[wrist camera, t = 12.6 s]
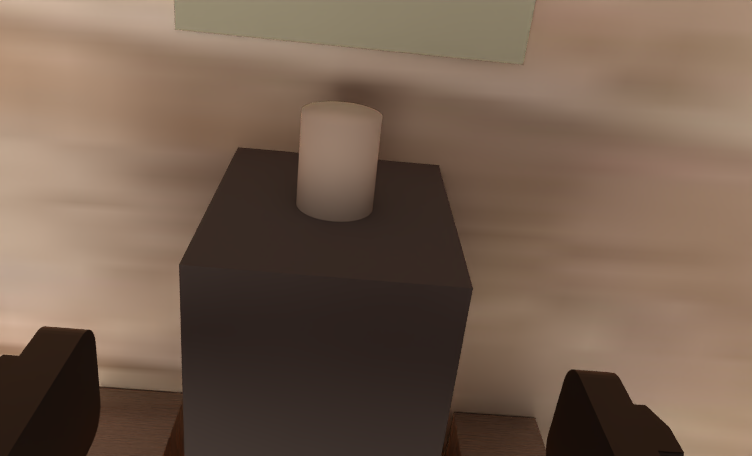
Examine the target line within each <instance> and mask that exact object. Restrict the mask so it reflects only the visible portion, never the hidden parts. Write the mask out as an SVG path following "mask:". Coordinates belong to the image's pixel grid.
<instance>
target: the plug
mask: <svg viewBox="0 0 752 456" xmlns="http://www.w3.org/2000/svg"><path fill="white" fill-rule="evenodd" d="M382 117H383V116H382V114H381V113H380V112H379V111H377V110H375V109H373V108H371V107H368V106H364V105H360V104H355V103H349V102H340V101H322V102H314V103H310V104H307V105H305V106H303V107H302V109H301V127H300V145H299V153H295V152H283V151H272V150H261V149H250V148H239V147H238V149H237V151H236V153H235V155H234V157H233V159H232V161H231V163H230V165H229V167H228V169H227V171H226V173H225V175H224V177H223V179H222V181H221V183H220V185H219V187H218V189H217V191H216V193H215V195H214V197H213V199H212V201H211V203H210V204H209V206H208V208H207V210H206V212H205V214H204V216H203V218H202V220H201V222H200V224H199V226H198V228H197V230H196V232H195V234H194V236H193V238H192V240H191V242H190V244H189V246H188V248H187V250H186V252H185V254H184V256H183V258H182V260H181V262H180V264H179V276H180V312H181V349H182V386H183V422H184V456H441V454H442V449H443V444H444V438H445V433H446V428H447V422H448V417H449V412H450V407H451V401H452V396H453V391H454V385H455V380H456V375H457V369H458V364H459V359H460V353H461V348H462V343H463V338H464V332H465V327H466V322H467V316H468V311H469V306H470V300H471V295H472V290H473V287H472V284H471V280H470V276H469V273H468V269H467V266H466V262H465V258H464V255H463V251H462V248H461V244H460V241H459V237H458V233H457V230H456V226H455V223H454V219H453V215H452V212H451V208H450V205H449V201H448V197H447V194H446V190H445V187H444V183H443V180H442V176H441V172H440V169H439V165H428V164H417V163H406V162H395V161H384V160H378V154H379V144H380V135H381V126H382Z"/></svg>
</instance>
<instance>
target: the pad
mask: <svg viewBox="0 0 752 456" xmlns="http://www.w3.org/2000/svg"><path fill="white" fill-rule="evenodd" d="M535 1H536V0H174V8H175V30H184V31H194V32H204V33H214V34H224V35H234V36H244V37H254V38H263V39H273V40H283V41H293V42H303V43H313V44H323V45H332V46H342V47H352V48H362V49H372V50H382V51H392V52H401V53H411V54H421V55H431V56H441V57H451V58H461V59H470V60H480V61H490V62H500V63H510V64H520V65H523V63H524V58H525V53H526V47H527V42H528V37H529V32H530V27H531V22H532V17H533V12H534V7H535Z"/></svg>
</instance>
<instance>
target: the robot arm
mask: <svg viewBox="0 0 752 456" xmlns="http://www.w3.org/2000/svg"><path fill="white" fill-rule="evenodd" d="M100 409H101V401H100V389H99V377H98V365H97V354H96V342H95V337H94V334H93V332H92V331H91V330H84V329H72V328H59V327H46V326H44V327H41V328H40V329H39V330H38V331H37V332H36V334H35V335H34V337H33V338H32V339H31V341H30V342H29V343H28V345H27V346H26V347H25V349H24V350H23V352H22V353H21V354H20V356H13V355H2V356H1V357H0V456H86V455H87V453H88V451H89V449H90V447H91V445H92V443H93V440H94V438H95V435H96V432H97V428H98V424H99V418H100ZM546 456H684V452H683V450H682V449H681V447H680V445H679V443H678V442H677V440H676V438H675V436H674V435H673V433H672V431H671V429H670V428H669V427H668V426H667V425H666V424H665V423H664V422H663V421H662V420H661V419H660V418H659V417H658V416H657V415H655V414H654V413H653V412H652V411H651V410H650V409H649V408H648V407H647V406H646V405H636V404H633V403H632V401H631V399H630V397H629V395H628V393H627V391H626V389H625V387H624V386H623V384H622V382H621V380H620V378H619V377H618V376H617V375H616V374H615V373H610V372H597V371H584V370H570V371H569V372H568V373H567V374H566V377H565V379H564V382H563V386H562V389H561V392H560V396H559V399H558V403H557V406H556V410H555V413H554V416H553V420H552V423H551V427H550V430H549V433H548V437H547V443H546Z"/></svg>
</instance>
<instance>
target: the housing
mask: <svg viewBox="0 0 752 456" xmlns="http://www.w3.org/2000/svg"><path fill="white" fill-rule="evenodd" d="M99 389H100V401H101V409H100V418H99V424H98V428H97V432H96V435H95V438H94V440H93V443H92V445H91V447H90V449H89V451H88V453H87V455H86V456H184V422H183V393H170V392H155V391H141V390H127V389H113V388H99ZM445 456H546V449H545V446H544V443H543V440H542V437H541V434H540V431H539V428H538V425H537V422H536V419H535V418H526V417H512V416H498V415H483V414H469V413H455V412H454V414H453V419H452V424H451V429H450V434H449V440H448V445H447V450H446V455H445Z"/></svg>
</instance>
